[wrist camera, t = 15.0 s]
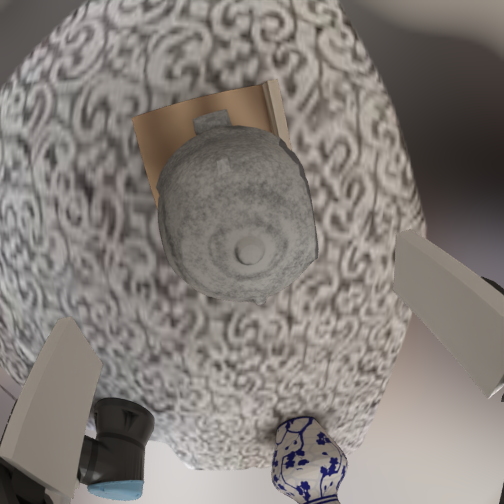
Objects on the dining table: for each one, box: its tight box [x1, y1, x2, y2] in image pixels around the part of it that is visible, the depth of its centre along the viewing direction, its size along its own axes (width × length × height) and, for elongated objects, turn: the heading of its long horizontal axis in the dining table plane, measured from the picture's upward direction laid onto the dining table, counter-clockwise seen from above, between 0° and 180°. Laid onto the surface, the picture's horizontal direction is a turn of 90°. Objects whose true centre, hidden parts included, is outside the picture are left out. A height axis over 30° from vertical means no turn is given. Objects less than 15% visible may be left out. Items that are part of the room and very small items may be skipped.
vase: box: [271, 417, 348, 504], centre depth 53 cm, size 19×19×30 cm
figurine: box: [156, 109, 318, 305], centre depth 24 cm, size 10×14×25 cm
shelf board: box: [132, 79, 292, 209], centre depth 34 cm, size 18×20×4 cm
